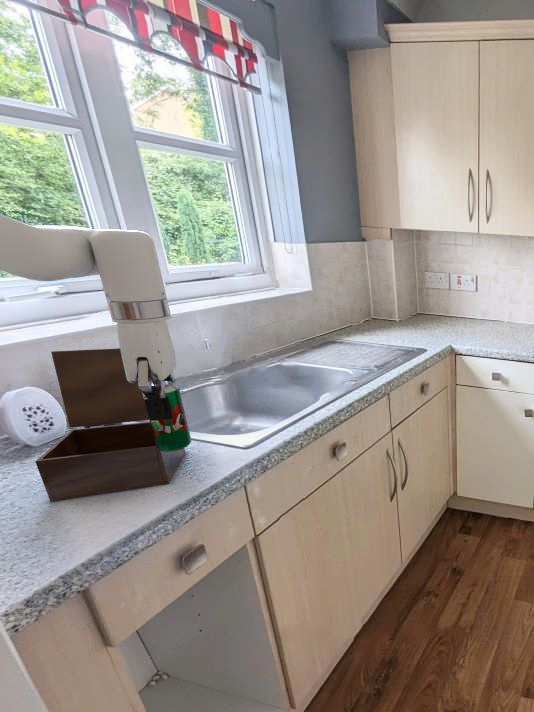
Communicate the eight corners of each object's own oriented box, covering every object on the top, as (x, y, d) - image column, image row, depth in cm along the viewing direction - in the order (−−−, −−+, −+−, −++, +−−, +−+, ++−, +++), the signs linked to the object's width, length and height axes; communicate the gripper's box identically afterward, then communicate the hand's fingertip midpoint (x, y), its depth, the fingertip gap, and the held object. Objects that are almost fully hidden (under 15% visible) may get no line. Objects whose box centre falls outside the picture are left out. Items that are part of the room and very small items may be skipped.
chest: (169, 484, 87) (159, 446, 85) (50, 501, 80) (34, 461, 78) (185, 452, 99) (177, 418, 97) (83, 465, 92) (71, 429, 90)
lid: (162, 346, 93) (164, 346, 94) (50, 351, 86) (53, 351, 87) (176, 417, 96) (177, 416, 97) (69, 427, 89) (71, 426, 90)
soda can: (190, 438, 86) (176, 378, 82) (193, 448, 82) (178, 385, 78) (156, 445, 83) (140, 382, 78) (158, 455, 79) (140, 390, 75)
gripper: (128, 303, 79) (153, 399, 86) (89, 320, 65) (123, 435, 71) (180, 302, 83) (201, 395, 89) (154, 319, 68) (181, 429, 74)
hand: (166, 412), depth 80 cm, fingers closed on soda can, 5 cm apart
